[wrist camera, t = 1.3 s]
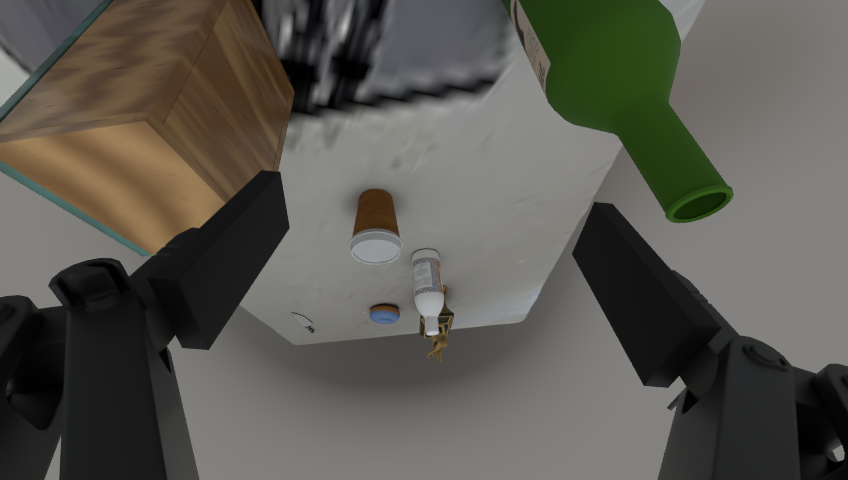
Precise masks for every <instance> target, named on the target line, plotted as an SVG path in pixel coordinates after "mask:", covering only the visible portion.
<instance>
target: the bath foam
mask: <svg viewBox="0 0 848 480" xmlns="http://www.w3.org/2000/svg"><path fill="white" fill-rule="evenodd" d="M412 270H413V284H414V299H415V304H416V307H417V309H418V311H419V312H420V313H421V315H422V316H423V317H424V318H425V328H426V334H427V335H437V334H439V328H438V316H439V314H440V312H441V310H442V308H443V304H444V292H443V283H442V275H441V267H440V259H439V254H438V253H437V252H436V251H434V250H431V249H423V250H419V251H417V252H415V253H414V254H413V255H412Z"/></svg>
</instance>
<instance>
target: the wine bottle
mask: <svg viewBox="0 0 848 480" xmlns="http://www.w3.org/2000/svg"><path fill="white" fill-rule="evenodd" d="M502 1H503V3H504V5H505V7H506V9H507V12H508V14H509V16H510V18H511V20H512V23H513V25H514V28H515V30H516V32H517V34H518V37H519V39H520V41H521V43H522V45H523V48H524V50H525V52H526V54H527V56H528V59H529V61H530V63H531V65H532V67H533V70H534V72H535V74H536V76H537V78H538V81H539V83H540V85H541V87H542V89H543V92H544V94H545V96H546V98H547V100H548V103H549V104H550V105H551V106H552V108H553V109H554V110H555V111H556V112H557V113H558V114H559V115H560V116H561V117H563V118H564V119H565V120H566V121H568V122H570V123H572V124H574V125H578V126H582V127H587V128H591V129H595V130H600V131H604V132H608V133H613V134H615V135H617V136H618V137H619V139H620V140H621V142H622V144H623V145H624V147H625V148H626V150H627V152H628V153H629V155H630V156H631V158H632V160H633V161H634V163H635V165H636V166H637V168H638V169H639V171H640V173H641V174H642V176H643V178H644V179H645V181H646V182H647V184H648V185H649V187H650V189H651V190H652V192H653V193H654V195H655V197H656V199H657V200H658V202H659V203H660V205H661V207H662V208H663V210H664V211H665V213H666V215H665V216H666V218H667V219H668V220H669V221H671V222H673V223H685V222H686V223H687V222H692V221H696V220H699V219H702V218H705V217H707V216H710V215H712V214H714V213H716V212H717V211H718V210H720V209H722V208H723V207H724V206H725V205H727V204H728V203H729V202H730V201H731V199H732V198H733V195H734V194H733V191H732V188H731V187H729V186H728V185H727V184H726V183H725V181H724V180H723V178H722V177H721V176H720V175H719V173H718V172H717V170H716V169H715V168H714V166H713V165H712V163H711V162H710V160H709V159H708V158H707V156H706V155H705V153H704V152H703V151H702V149H701V148H700V147H699V145H698V144H697V142H696V141H695V140H694V138H693V137H692V135H691V134H690V133H689V131H688V130H687V129H686V127H685V126H684V125H683V123H682V122H681V120H680V119H679V118H678V116H677V115H676V113H675V112H674V110H673V109H672V108H671V106H670V105H669V96H670V91H671V88H672V84H673V80H674V75H675V72H676V68H677V64H678V59H679V56H680V46H681V40H680V37H679V34H678V31H677V28H676V25H675V22H674V19H673V16H672V14H671V13H670V12H669V11H668V10H667V9H666V8H665V7H664V6H663V5H662V4H661V3H660V2H659V1H658V0H502Z"/></svg>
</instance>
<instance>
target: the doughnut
mask: <svg viewBox="0 0 848 480" xmlns="http://www.w3.org/2000/svg"><path fill="white" fill-rule="evenodd" d="M399 317H400V313H399V310H398V309H396V308H394V307H391V306H376V307H374V308H372V309H371V311H370V318H371V320H372V321H374V322H377V323H382V324H390V323H394V322H396V321H398V319H399Z"/></svg>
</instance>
